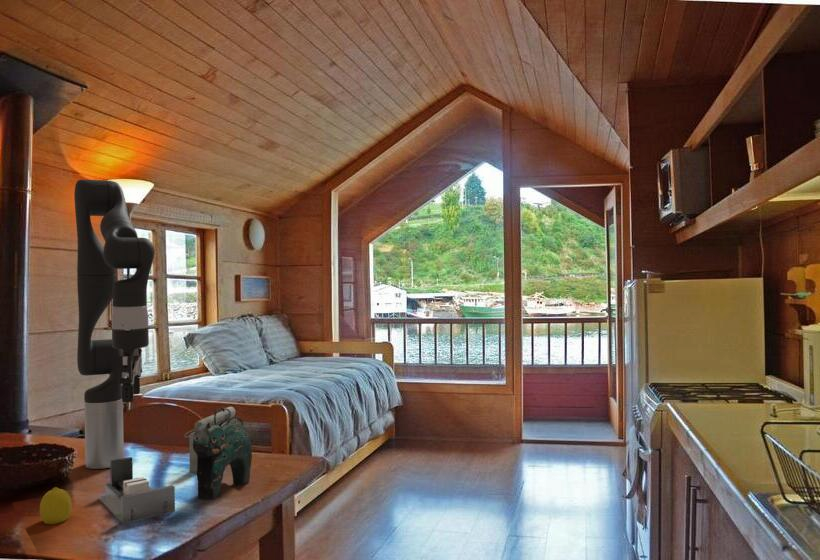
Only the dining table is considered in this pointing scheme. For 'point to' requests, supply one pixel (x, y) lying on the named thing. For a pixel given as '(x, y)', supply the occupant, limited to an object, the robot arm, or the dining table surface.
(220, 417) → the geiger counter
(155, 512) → the grey open box
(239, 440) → the green animal figurine
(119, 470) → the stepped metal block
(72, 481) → the dining table surface
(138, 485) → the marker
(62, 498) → the lemon
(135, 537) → the dining table surface
